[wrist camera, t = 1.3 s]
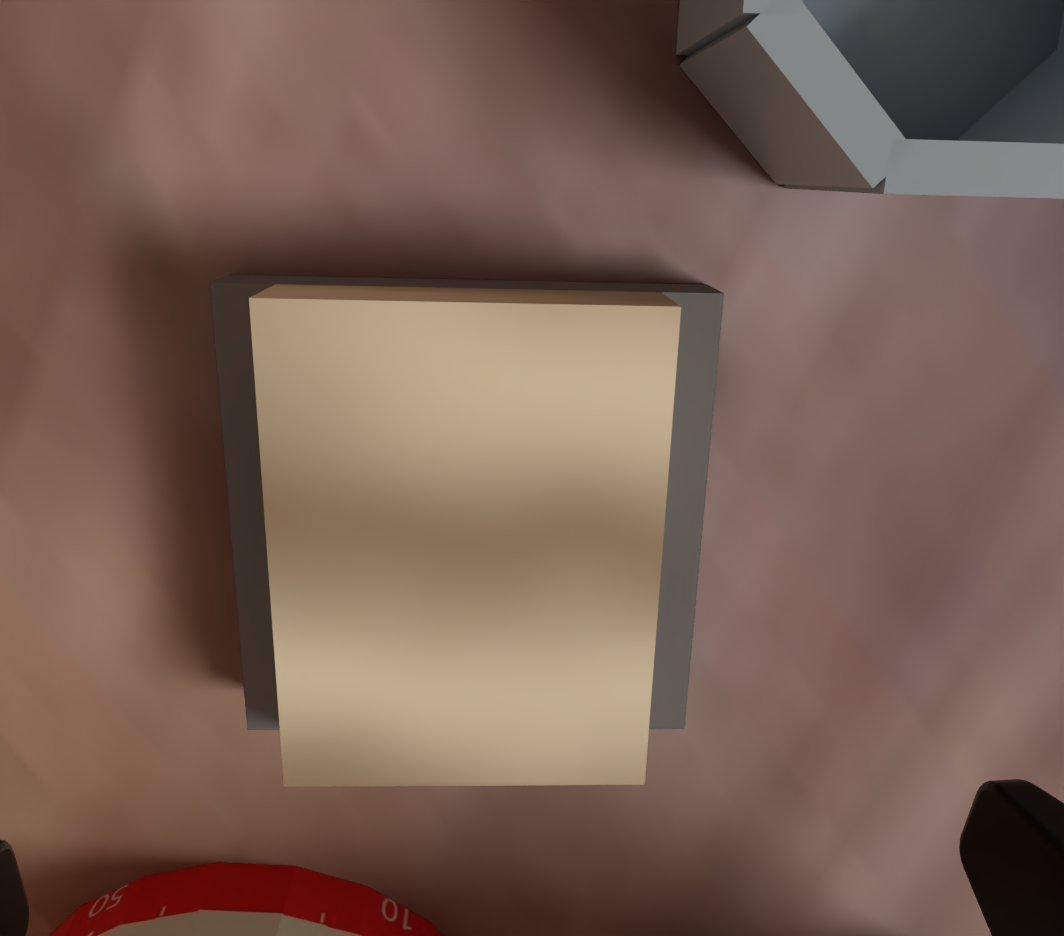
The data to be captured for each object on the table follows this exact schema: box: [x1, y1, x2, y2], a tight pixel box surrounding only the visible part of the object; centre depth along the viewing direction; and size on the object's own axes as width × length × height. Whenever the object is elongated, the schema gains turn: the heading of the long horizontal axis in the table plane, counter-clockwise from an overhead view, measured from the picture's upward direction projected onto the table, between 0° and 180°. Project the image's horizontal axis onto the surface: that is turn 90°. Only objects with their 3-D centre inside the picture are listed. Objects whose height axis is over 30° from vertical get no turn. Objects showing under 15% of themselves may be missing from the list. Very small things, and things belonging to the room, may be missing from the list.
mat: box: [210, 274, 724, 730], centre depth 20 cm, size 10×10×2 cm
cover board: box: [249, 284, 681, 787], centre depth 18 cm, size 10×8×2 cm
